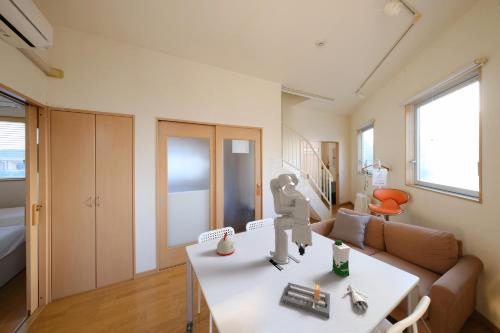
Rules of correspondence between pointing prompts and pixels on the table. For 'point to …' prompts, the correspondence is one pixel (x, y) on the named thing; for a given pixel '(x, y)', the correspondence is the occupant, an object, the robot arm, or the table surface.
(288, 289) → the console
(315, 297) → the fader
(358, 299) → the woman figurine
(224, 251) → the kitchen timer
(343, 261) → the milk carton
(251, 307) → the table surface
